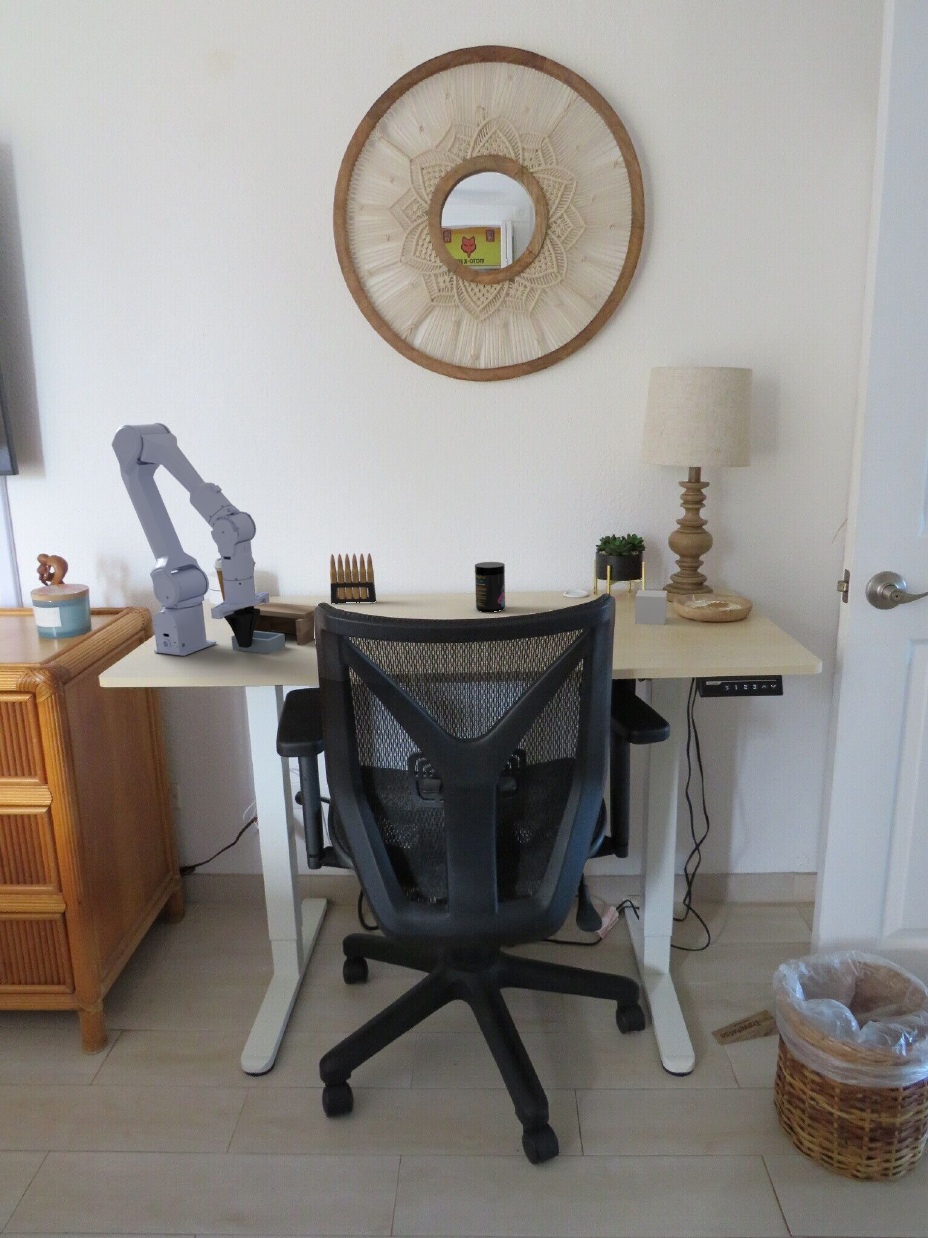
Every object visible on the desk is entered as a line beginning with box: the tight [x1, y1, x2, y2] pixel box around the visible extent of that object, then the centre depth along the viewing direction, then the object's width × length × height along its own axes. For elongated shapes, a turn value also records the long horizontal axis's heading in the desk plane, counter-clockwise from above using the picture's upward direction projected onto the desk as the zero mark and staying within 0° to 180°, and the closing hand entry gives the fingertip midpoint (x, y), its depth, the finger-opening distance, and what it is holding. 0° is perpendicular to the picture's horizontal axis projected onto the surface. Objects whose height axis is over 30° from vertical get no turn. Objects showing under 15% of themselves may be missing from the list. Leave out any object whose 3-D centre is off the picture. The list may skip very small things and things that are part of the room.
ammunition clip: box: [329, 553, 377, 605], centre depth 204 cm, size 11×2×12 cm, turn 88°
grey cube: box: [634, 589, 668, 626], centre depth 181 cm, size 6×6×6 cm
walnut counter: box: [254, 601, 316, 646], centre depth 177 cm, size 8×14×6 cm, turn 65°
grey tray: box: [231, 631, 286, 655], centre depth 170 cm, size 5×9×3 cm, turn 65°
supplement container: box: [474, 561, 506, 613], centre depth 194 cm, size 7×7×10 cm
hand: (245, 646), depth 166 cm, fingers closed
